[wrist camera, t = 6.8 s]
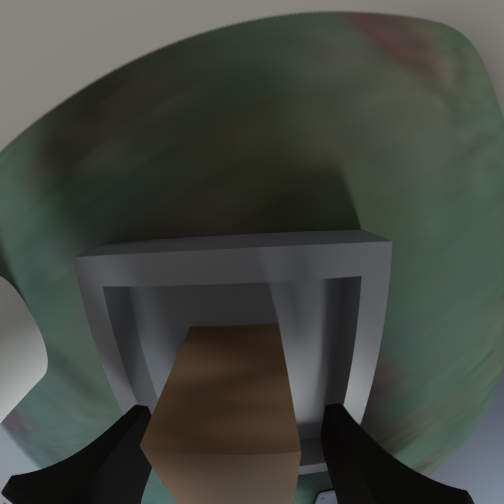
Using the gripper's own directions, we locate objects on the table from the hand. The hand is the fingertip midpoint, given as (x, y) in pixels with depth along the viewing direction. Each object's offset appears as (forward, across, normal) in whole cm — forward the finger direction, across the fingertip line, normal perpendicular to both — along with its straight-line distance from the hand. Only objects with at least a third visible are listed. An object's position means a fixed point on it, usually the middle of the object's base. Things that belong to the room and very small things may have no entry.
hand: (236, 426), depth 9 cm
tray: (+4, 0, 0) cm, 4 cm away
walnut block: (+3, 0, 0) cm, 3 cm away
